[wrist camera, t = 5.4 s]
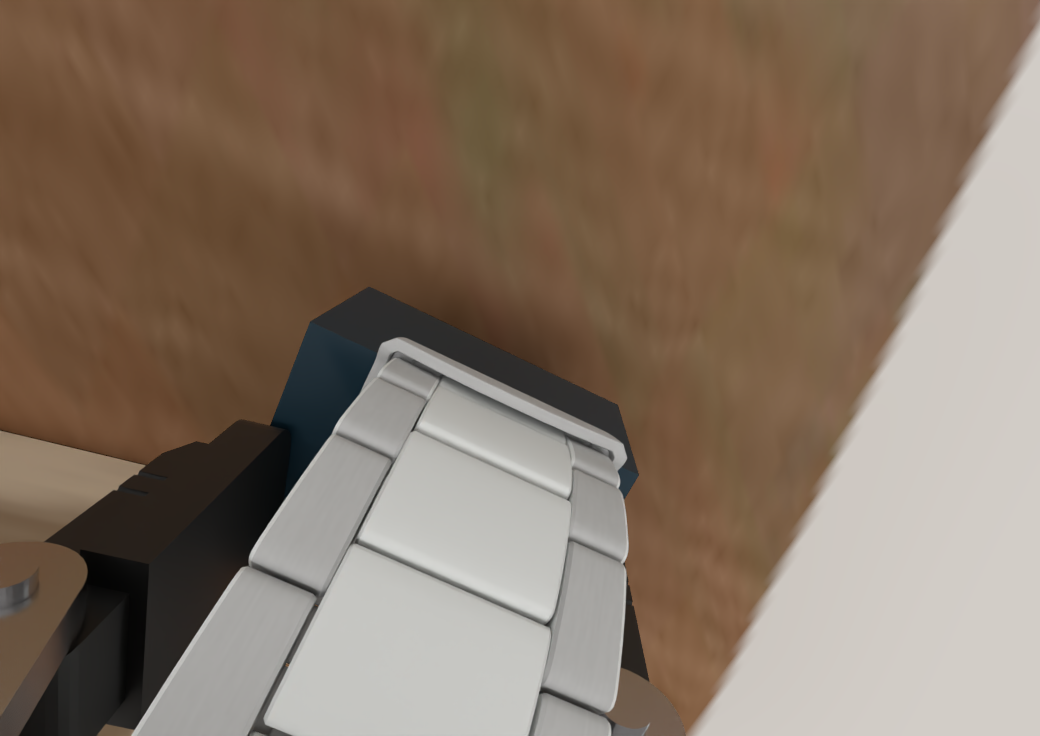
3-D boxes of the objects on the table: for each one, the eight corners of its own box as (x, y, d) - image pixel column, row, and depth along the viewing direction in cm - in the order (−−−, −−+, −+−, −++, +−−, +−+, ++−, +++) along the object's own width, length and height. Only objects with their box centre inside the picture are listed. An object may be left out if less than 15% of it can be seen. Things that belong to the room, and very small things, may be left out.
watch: (267, 535, 14) (-614, 1650, 3) (403, 202, 12) (-1005, 430, 1) (492, 632, 14) (336, 1865, 4) (664, 331, 12) (1435, 1345, 2)
